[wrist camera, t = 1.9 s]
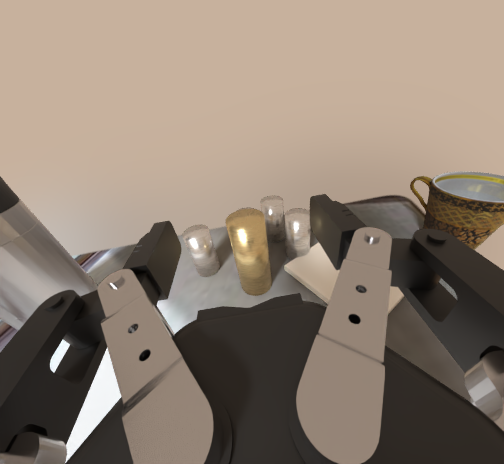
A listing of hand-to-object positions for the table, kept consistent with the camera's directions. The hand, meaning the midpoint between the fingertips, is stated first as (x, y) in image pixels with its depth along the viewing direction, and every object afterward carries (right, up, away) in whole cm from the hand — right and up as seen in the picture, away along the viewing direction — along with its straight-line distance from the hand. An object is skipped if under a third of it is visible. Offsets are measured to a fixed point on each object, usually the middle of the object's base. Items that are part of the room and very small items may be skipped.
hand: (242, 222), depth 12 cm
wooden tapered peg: (+1, -9, +20) cm, 22 cm away
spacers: (+1, -6, +24) cm, 25 cm away
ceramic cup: (+32, -2, +23) cm, 39 cm away
